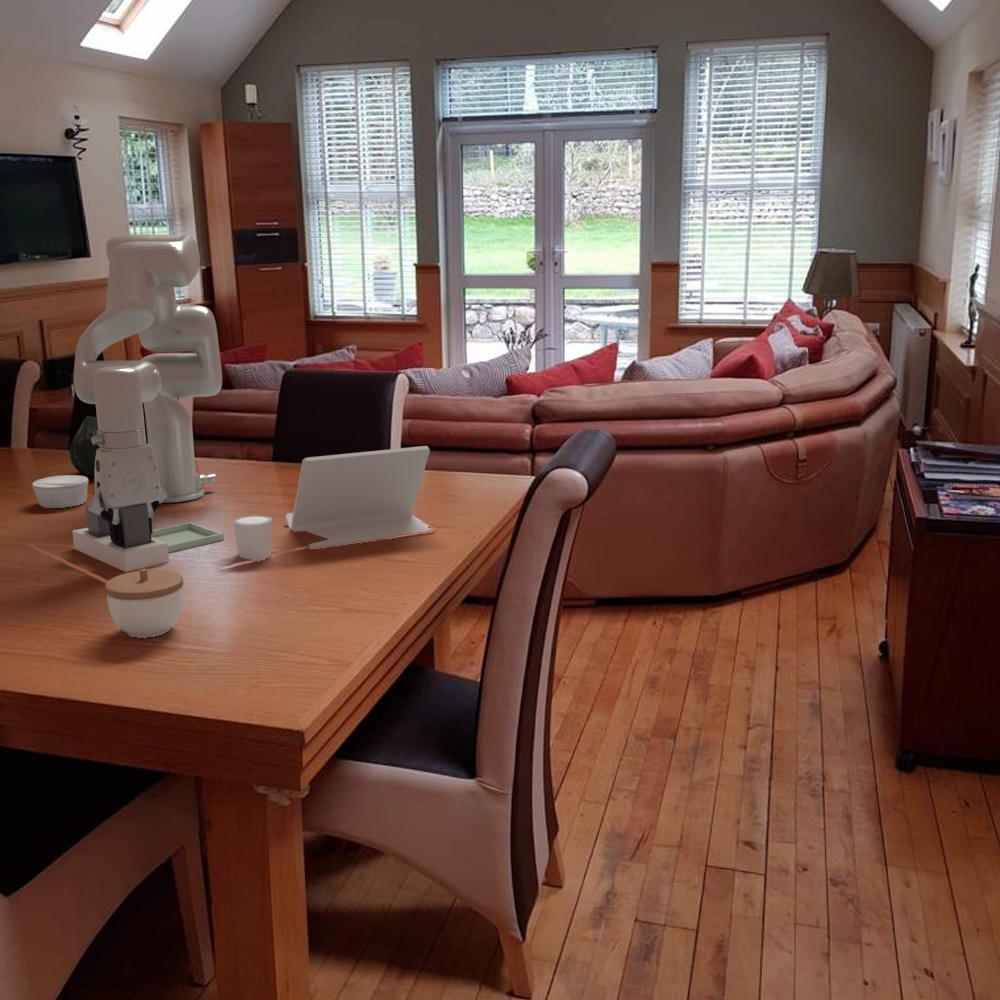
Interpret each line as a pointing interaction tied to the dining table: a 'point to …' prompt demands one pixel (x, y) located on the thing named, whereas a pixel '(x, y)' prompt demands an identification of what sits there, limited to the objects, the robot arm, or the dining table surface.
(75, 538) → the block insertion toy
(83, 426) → the squash
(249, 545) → the white cup
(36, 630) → the dining table surface
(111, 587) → the lidded jar
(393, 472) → the tablet stand
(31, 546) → the dining table surface
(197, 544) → the tray
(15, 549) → the dining table surface
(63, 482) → the ramekin
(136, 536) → the plug
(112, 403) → the robot arm
